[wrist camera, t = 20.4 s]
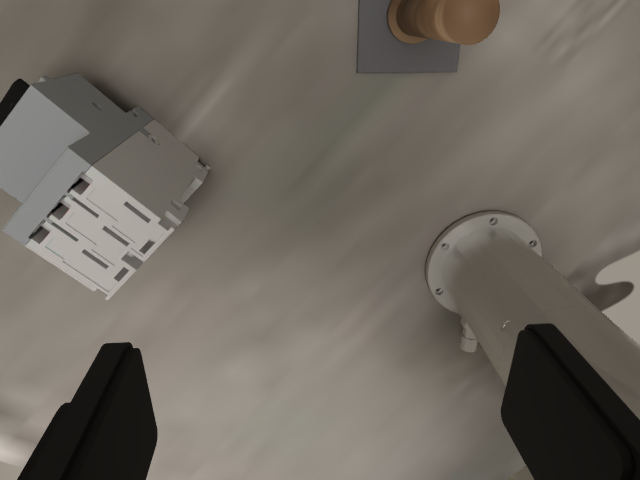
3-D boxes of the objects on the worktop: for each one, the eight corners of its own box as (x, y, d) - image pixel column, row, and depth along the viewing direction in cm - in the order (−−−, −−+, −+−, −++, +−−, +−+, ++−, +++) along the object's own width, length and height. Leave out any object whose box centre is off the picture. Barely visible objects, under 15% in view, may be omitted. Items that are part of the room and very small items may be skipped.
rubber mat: (454, 71, 41) (456, 71, 41) (356, 72, 41) (357, 72, 40) (468, -45, 38) (470, -46, 37) (360, -46, 37) (361, -47, 37)
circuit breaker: (78, 53, 39) (-33, 70, 25) (210, 167, 44) (177, 232, 30) (30, 118, 41) (-97, 165, 27) (162, 219, 46) (111, 302, 32)
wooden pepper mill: (435, 42, 40) (503, 55, 27) (385, 43, 40) (430, 56, 27) (440, -15, 38) (516, -31, 25) (388, -15, 38) (438, -30, 25)
